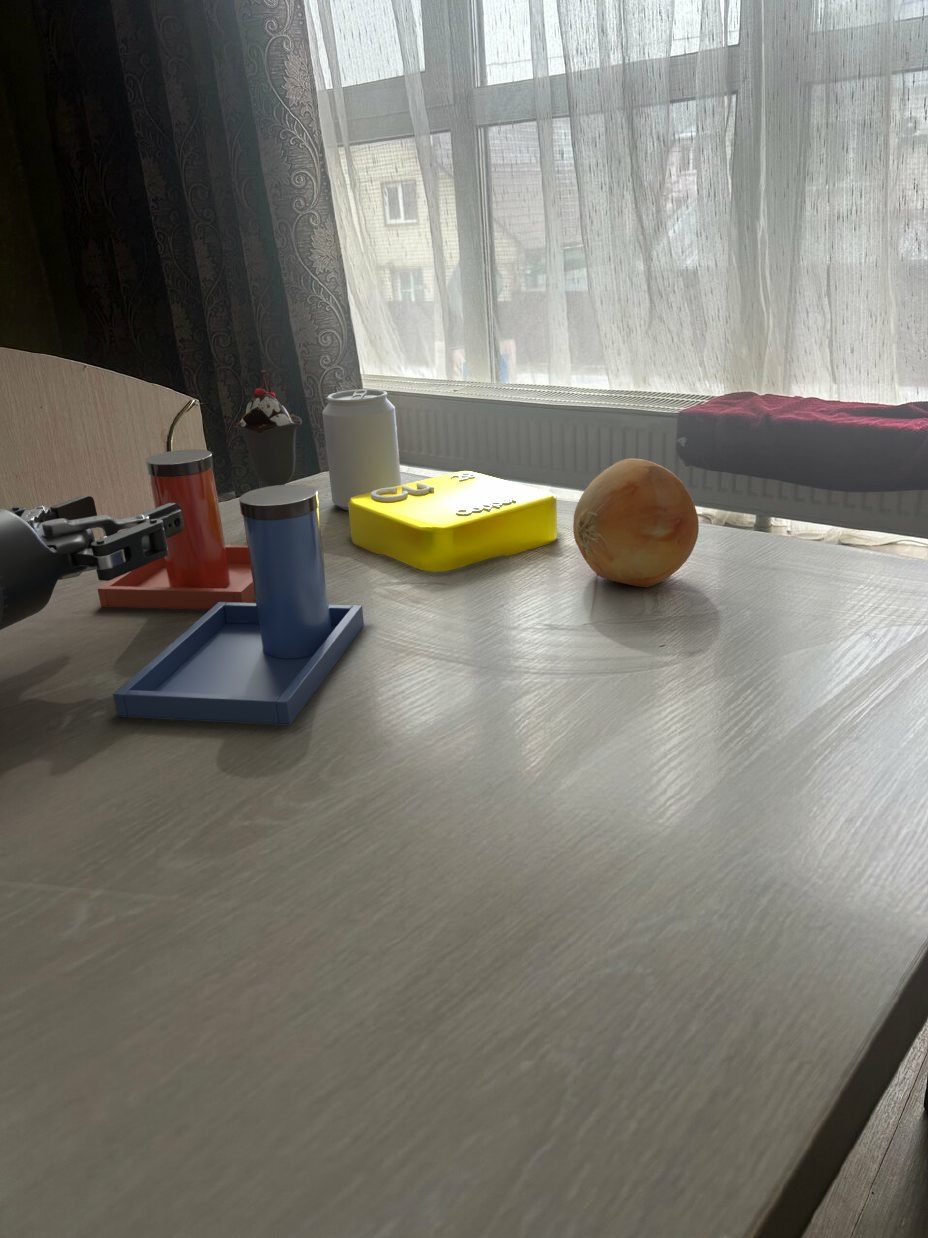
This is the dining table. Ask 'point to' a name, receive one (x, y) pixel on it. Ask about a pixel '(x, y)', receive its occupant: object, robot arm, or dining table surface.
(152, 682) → the blue tray
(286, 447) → the sundae
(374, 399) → the can
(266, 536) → the blue jar
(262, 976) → the dining table surface
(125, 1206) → the dining table surface
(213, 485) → the red jar
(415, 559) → the element tile
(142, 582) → the red tray
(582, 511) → the onion
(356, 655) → the dining table surface
